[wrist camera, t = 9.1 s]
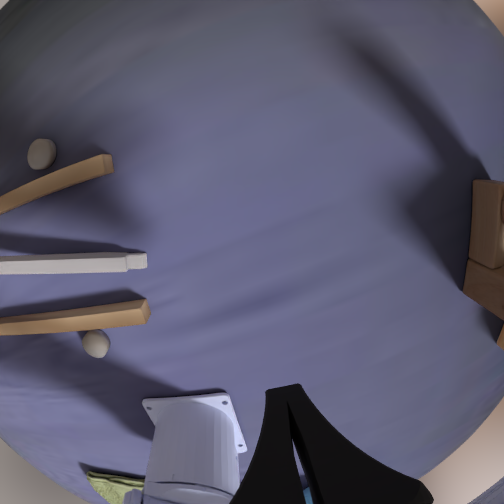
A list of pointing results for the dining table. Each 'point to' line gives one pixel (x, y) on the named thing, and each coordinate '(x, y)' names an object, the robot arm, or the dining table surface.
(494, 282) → the brown wooden frame
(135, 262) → the caliper
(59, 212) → the dining table surface
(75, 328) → the rails
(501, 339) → the small box
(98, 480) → the washcloth
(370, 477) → the robot arm
